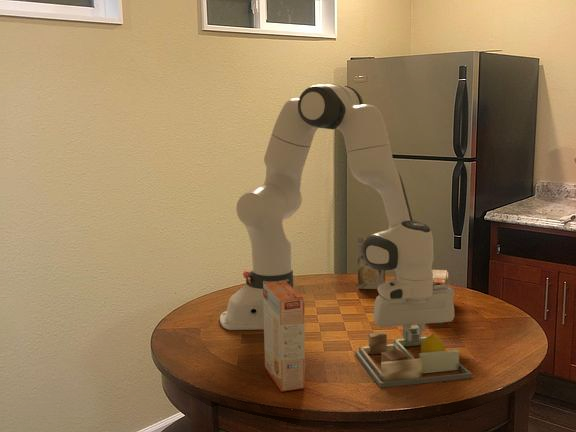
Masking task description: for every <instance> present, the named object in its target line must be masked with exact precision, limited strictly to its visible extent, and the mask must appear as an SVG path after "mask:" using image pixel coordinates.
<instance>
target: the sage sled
mask: <svg viewBox="0 0 576 432" xmlns="http://www.w3.org/2000/svg"><path fill="white" fill-rule="evenodd" d="M417 328H418V325H417V324H416V325H411V329H409V330H410V332H416V330H417ZM427 337H429V336H421V340H419V341H408V339H407V332H406V330H405V329H404V327H403V326H402V338H396V339H393V344H395V345H396V346H397V347H398V348H399V349H400V350H401V351H402V352H403V353H404V354H405V355H407V356H408V358H409V359H416V358H415V357H414V356H413V355H412V354H411V353H410V352H409V351H408V350H407V349H406V348H405V347H412V346H413V347H414V346H421V345H422V343H423V341H424V339H425V338H427ZM418 355H419V357H418V358H421V359H422V374H428V373H429V374H430V373H441V372H449V371H460V369H459V363H460V351H459V350H458V349H449V350H446V351H437V352H427V353H421V352H419V353H418Z"/></svg>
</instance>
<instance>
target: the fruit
mask: <svg viewBox="0 0 576 432" xmlns="http://www.w3.org/2000/svg"><path fill="white" fill-rule="evenodd" d="M426 337H427V336H426ZM445 350H446V347H445V343H444V341H443V339H441V338H440V337H438V336H436V335H435V334H434V333H431V334H430V335H429V336H428V337H427V338H425V339H424V341H423V343H422V344H421V345H420V353H427V352H437V351H445Z"/></svg>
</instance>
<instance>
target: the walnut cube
mask: <svg viewBox="0 0 576 432" xmlns="http://www.w3.org/2000/svg"><path fill="white" fill-rule="evenodd" d="M398 360H408V356H407V355H405V354H404V353H402V352H401V351H400V350H393V351H388V352H382V353H380V363H381V362H388V361H398Z"/></svg>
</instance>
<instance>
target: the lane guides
mask: <svg viewBox="0 0 576 432" xmlns="http://www.w3.org/2000/svg"><path fill="white" fill-rule="evenodd" d="M445 351H447V350H446V349H445ZM354 352H355V356H356V357H357V359H358V360H359V362H361V365H363V367H364V368H365V370H366V371H367V373H368V374H370V377H371V378H372V379H373V380H374V382H375V383H376V384H377V386H378V387H379V388H391V387H400V386H408V385H409V386H410V385H417V384H418V385H419V384H427V383H429V384H430V383H438V382H444V381H445V382H447V381H455V380H457V381H458V380H465V379H473V373H472V372H471V371H469V370H468V369H467V368H466V367H465V366H464V365H463V364H461V362H459V371H460V372H462V373H455V374H454V373H453V374H446V375H445V374H444V375H436V376H428V377H427V376H425V377H422V378H415V379H405V380H396V381H386V382H381V380H380V379H379V378H378V376H377V375H376V374H375V372H374V371H373V370H372V369H371V367H370V366H369V365H368V363H367V362H366V361H365V359H364V358H363V357H362V356H361V354H360V353H359V350H355V351H354Z"/></svg>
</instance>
